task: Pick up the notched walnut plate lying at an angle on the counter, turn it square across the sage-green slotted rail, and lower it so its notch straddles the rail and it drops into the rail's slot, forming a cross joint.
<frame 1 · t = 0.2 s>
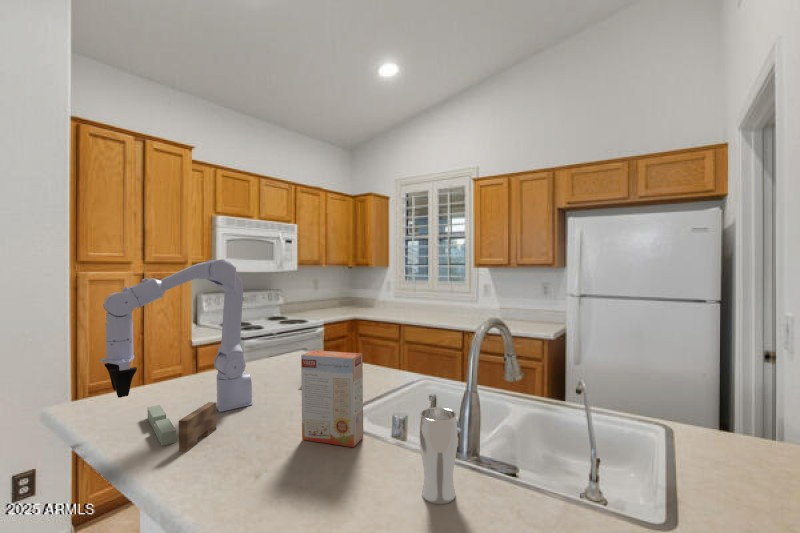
hand: (120, 392, 102), 10 cm above the countertop, tool pointing down, fingers open, 7 cm apart
cracker box: (332, 439, 97), on the countertop
slotted rail: (160, 429, 103), on the countertop
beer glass: (438, 495, 73), on the countertop
walnut plate: (198, 439, 97), on the countertop
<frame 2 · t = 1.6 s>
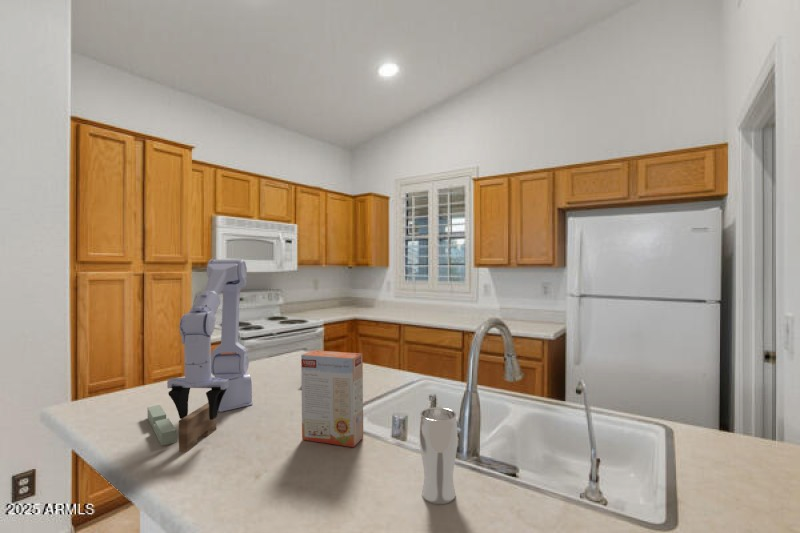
hand: (198, 417, 97), 5 cm above the countertop, tool pointing down, fingers open, 7 cm apart
nothing on the countertop moved.
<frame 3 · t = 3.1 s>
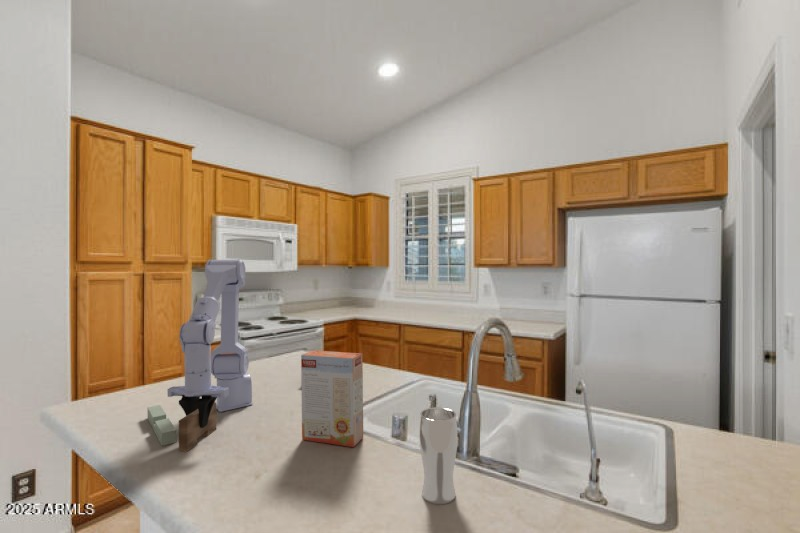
hand: (198, 426, 97), 3 cm above the countertop, tool pointing down, fingers closed on walnut plate, 2 cm apart
walnut plate: (198, 439, 97), on the countertop, touching gripper
everything else where it was.
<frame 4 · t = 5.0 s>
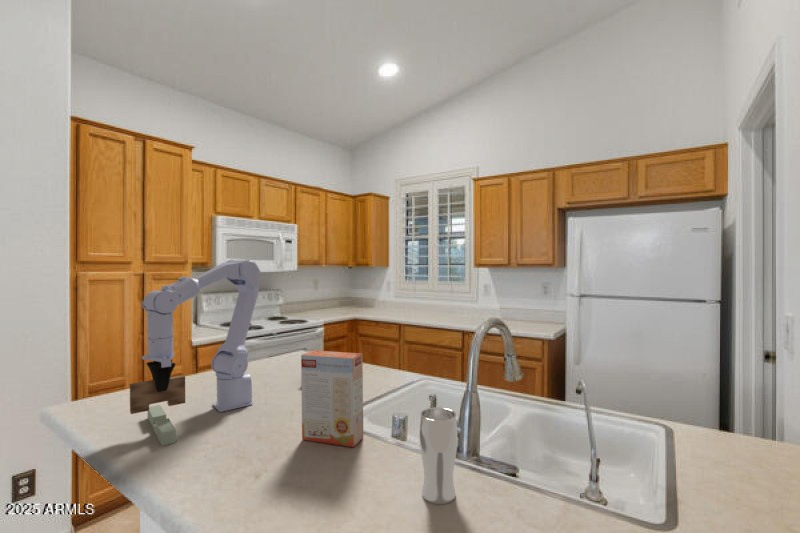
hand: (161, 389, 103), 10 cm above the countertop, tool pointing down, fingers closed on walnut plate
walnut plate: (158, 407, 102), point 6 cm above the countertop, touching gripper
everything else where it was.
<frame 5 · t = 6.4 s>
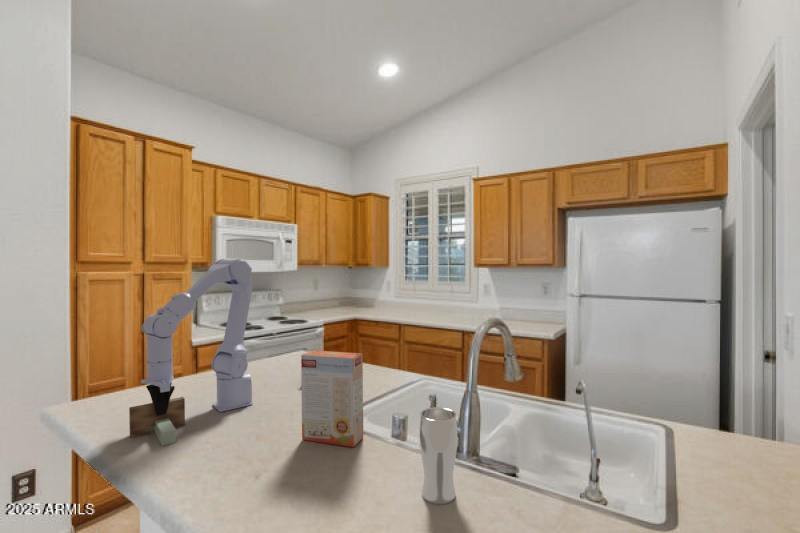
hand: (160, 413, 103), 4 cm above the countertop, tool pointing down, fingers closed on walnut plate, 2 cm apart
walnut plate: (158, 430, 103), on the countertop, touching gripper, slotted rail
everything else where it was.
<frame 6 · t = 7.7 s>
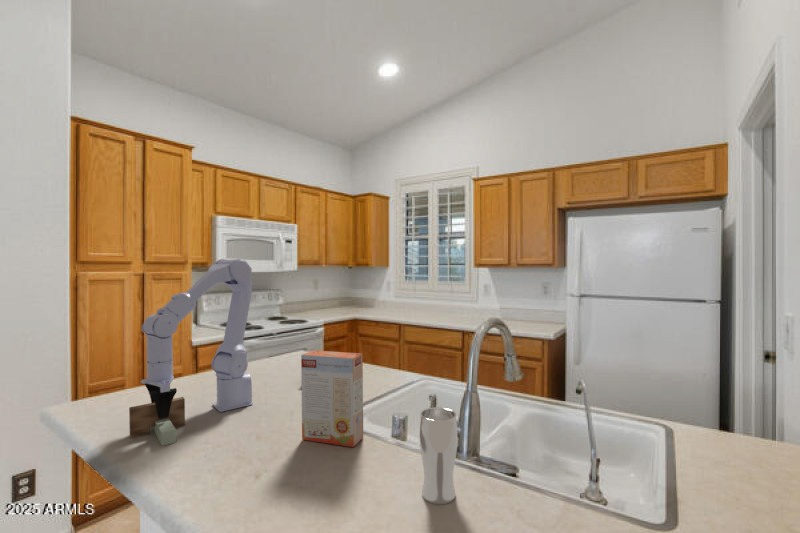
hand: (160, 413, 103), 4 cm above the countertop, tool pointing down, fingers open, 7 cm apart
walnut plate: (158, 430, 103), on the countertop, touching slotted rail
everything else where it was.
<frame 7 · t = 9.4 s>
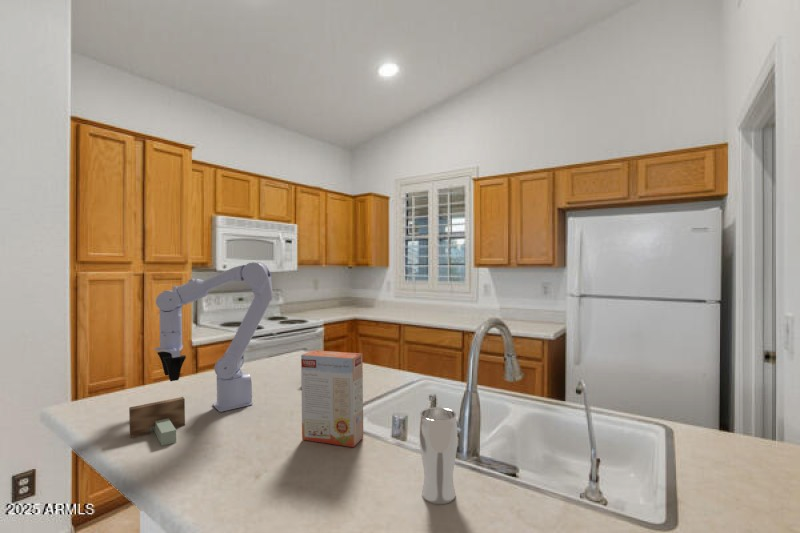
hand: (171, 377, 117), 9 cm above the countertop, tool pointing down, fingers open, 7 cm apart
nothing on the countertop moved.
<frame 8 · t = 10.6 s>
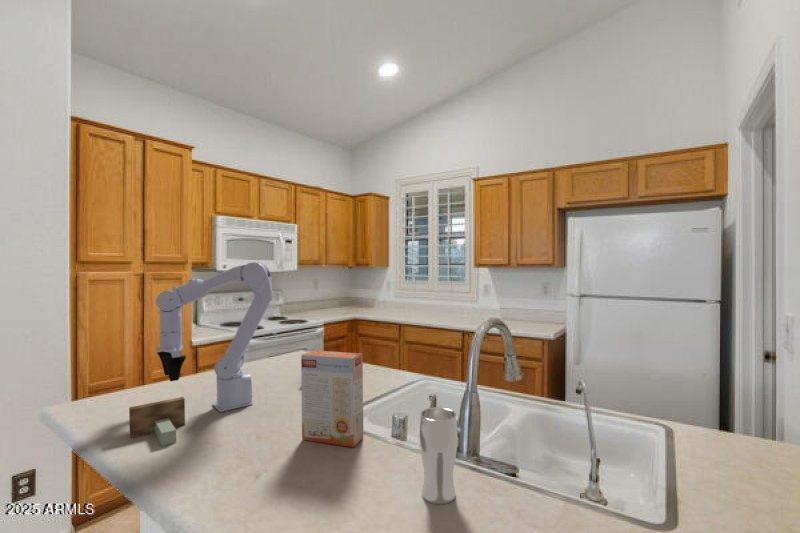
hand: (171, 377, 117), 9 cm above the countertop, tool pointing down, fingers open, 7 cm apart
nothing on the countertop moved.
at the end: walnut plate 0.6 cm off-centre on the slotted rail, point 0.0 cm above the slotted rail's base; walnut plate tilted 0°; the gripper is holding nothing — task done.
